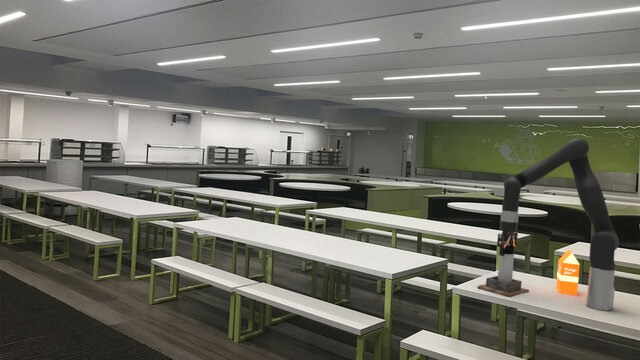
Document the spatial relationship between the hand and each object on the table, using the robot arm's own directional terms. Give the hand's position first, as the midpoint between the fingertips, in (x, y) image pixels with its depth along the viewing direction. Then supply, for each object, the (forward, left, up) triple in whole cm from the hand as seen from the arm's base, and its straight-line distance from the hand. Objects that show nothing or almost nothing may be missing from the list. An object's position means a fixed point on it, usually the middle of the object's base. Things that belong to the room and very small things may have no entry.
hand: (506, 254), depth 221 cm
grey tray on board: (0, 0, -17) cm, 17 cm away
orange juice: (-17, -28, -17) cm, 37 cm away
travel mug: (0, -1, -16) cm, 16 cm away
